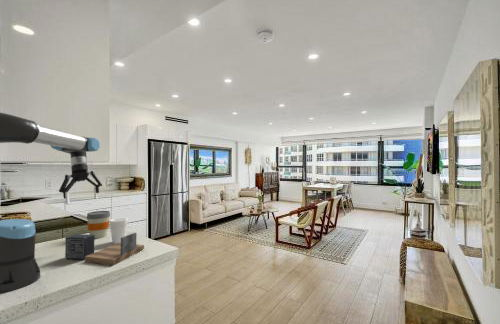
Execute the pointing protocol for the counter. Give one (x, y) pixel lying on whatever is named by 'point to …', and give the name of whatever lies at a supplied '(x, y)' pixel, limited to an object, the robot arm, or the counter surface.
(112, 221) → the foam cup
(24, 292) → the counter surface
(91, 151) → the robot arm
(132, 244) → the wooden base with plate
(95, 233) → the reusable coffee cup
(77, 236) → the small box
